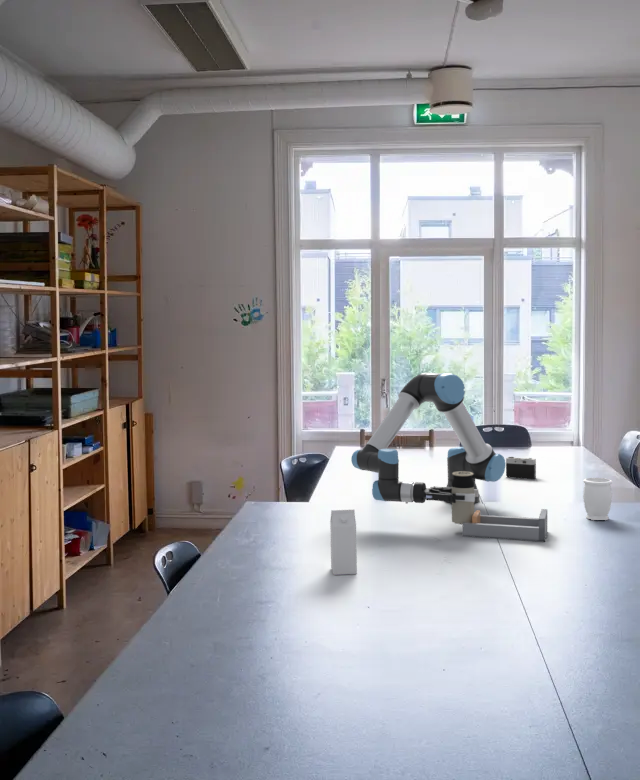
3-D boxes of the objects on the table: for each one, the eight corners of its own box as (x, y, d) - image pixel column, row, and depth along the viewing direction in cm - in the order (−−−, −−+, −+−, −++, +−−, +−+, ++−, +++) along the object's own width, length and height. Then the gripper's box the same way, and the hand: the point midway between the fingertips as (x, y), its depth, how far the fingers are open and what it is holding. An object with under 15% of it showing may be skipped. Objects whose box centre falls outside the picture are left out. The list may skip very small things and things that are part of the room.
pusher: (476, 526, 288) (476, 510, 287) (480, 526, 287) (480, 510, 287) (472, 533, 278) (472, 516, 278) (476, 533, 278) (476, 516, 277)
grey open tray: (469, 526, 291) (469, 505, 291) (547, 531, 282) (547, 509, 281) (462, 536, 277) (462, 514, 276) (544, 541, 268) (544, 518, 267)
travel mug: (475, 520, 286) (475, 471, 285) (472, 525, 279) (472, 475, 278) (454, 518, 289) (453, 470, 288) (450, 524, 281) (449, 474, 280)
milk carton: (331, 568, 242) (330, 507, 241) (354, 567, 243) (352, 507, 241) (333, 575, 235) (332, 513, 234) (357, 574, 236) (355, 512, 234)
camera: (538, 476, 388) (538, 456, 387) (534, 479, 381) (534, 459, 380) (510, 474, 395) (510, 455, 394) (505, 477, 388) (505, 457, 387)
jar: (614, 522, 293) (614, 482, 292) (585, 521, 295) (585, 482, 294) (609, 515, 303) (609, 477, 302) (581, 515, 305) (581, 477, 304)
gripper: (420, 496, 299) (480, 499, 292) (407, 508, 280) (471, 512, 272) (420, 477, 299) (480, 479, 291) (407, 487, 279) (471, 490, 272)
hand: (476, 495), depth 282 cm, fingers closed on travel mug, 8 cm apart
